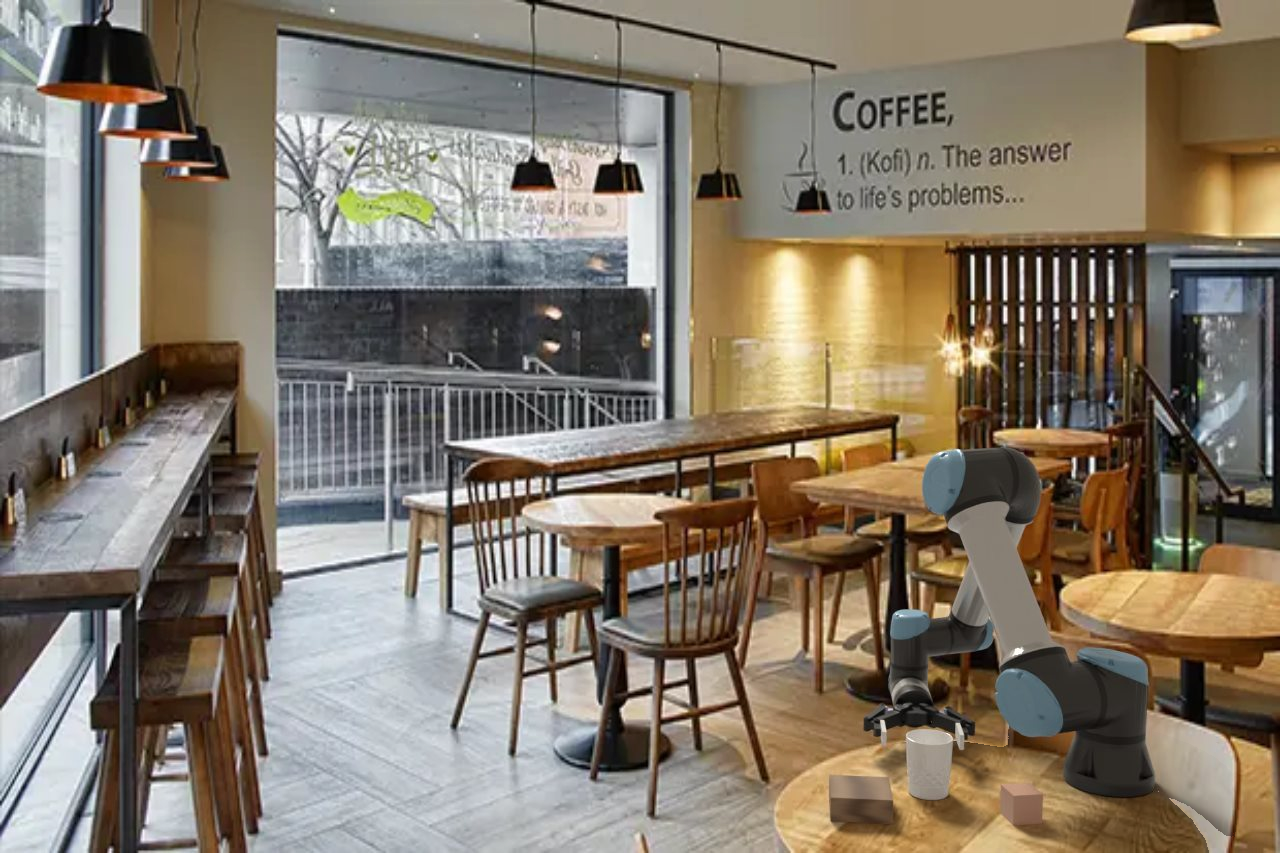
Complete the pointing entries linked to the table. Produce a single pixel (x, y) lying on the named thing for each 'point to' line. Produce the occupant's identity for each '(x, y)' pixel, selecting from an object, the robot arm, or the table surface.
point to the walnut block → (860, 799)
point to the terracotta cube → (1021, 803)
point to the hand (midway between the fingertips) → (923, 740)
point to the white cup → (929, 763)
